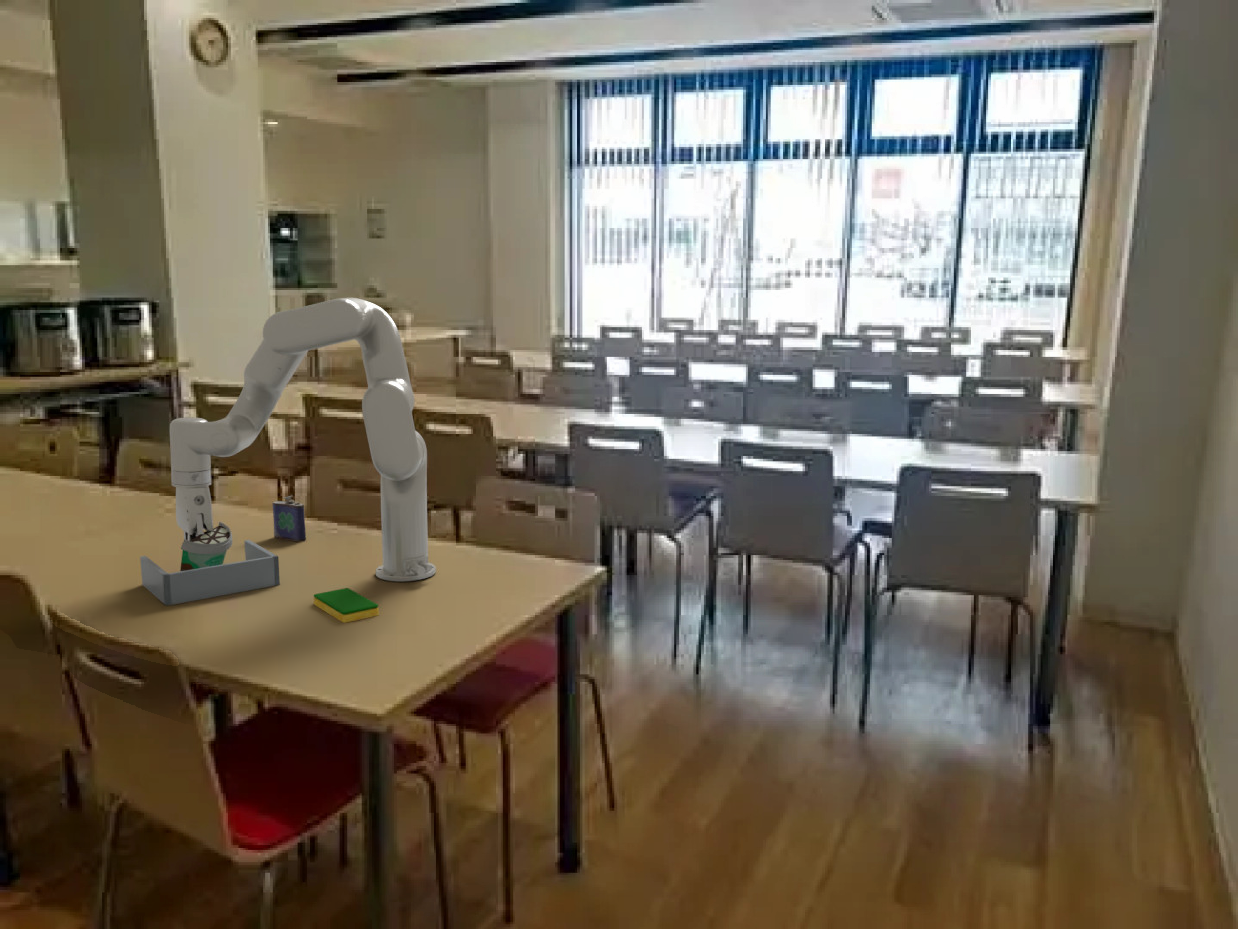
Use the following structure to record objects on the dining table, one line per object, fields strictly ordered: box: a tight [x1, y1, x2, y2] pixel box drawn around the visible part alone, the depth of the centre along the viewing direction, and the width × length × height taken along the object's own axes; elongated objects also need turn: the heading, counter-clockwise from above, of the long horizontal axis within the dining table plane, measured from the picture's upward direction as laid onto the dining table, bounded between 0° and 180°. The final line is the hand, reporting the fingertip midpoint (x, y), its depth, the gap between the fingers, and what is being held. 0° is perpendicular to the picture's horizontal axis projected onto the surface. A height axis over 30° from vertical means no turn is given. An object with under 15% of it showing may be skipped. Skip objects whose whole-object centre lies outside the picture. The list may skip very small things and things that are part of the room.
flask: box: [272, 495, 307, 543], centre depth 234 cm, size 9×3×11 cm, turn 65°
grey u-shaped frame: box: [139, 539, 281, 607], centre depth 198 cm, size 17×22×6 cm
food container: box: [179, 521, 233, 572], centre depth 199 cm, size 12×6×10 cm, turn 166°
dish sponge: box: [313, 587, 380, 623], centre depth 184 cm, size 7×14×2 cm, turn 40°
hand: (194, 563), depth 203 cm, fingers closed
